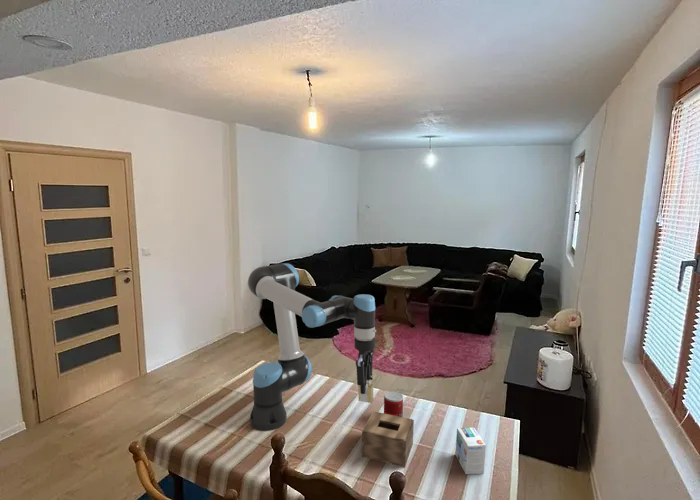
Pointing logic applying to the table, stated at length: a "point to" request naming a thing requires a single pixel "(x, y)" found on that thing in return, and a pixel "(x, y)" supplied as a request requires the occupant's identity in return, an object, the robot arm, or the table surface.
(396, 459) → the brown block with hole
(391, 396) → the canned food
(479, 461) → the light bulb box
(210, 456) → the table surface
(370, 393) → the butter stick block
